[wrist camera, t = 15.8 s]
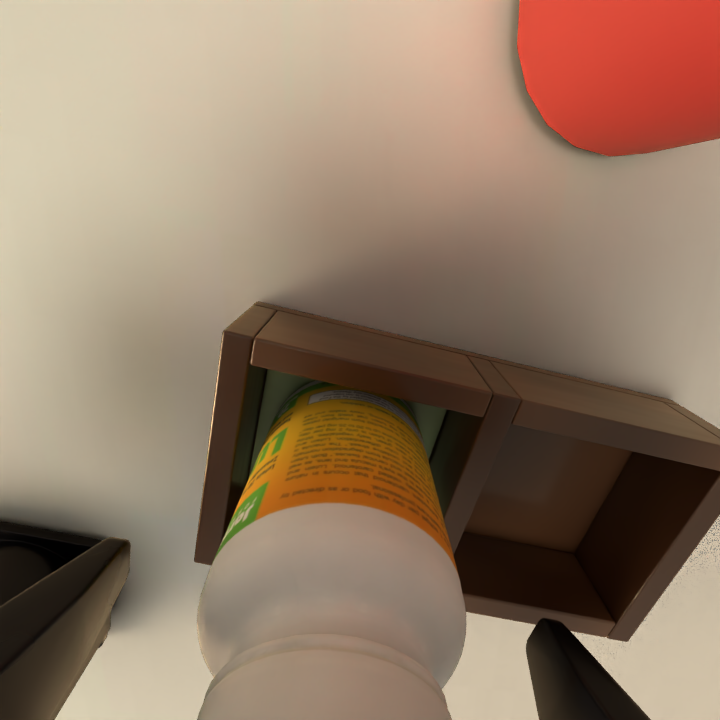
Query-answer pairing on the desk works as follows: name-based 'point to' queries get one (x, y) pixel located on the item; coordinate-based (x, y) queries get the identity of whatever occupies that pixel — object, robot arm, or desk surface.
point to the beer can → (623, 71)
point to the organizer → (493, 465)
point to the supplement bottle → (334, 572)
